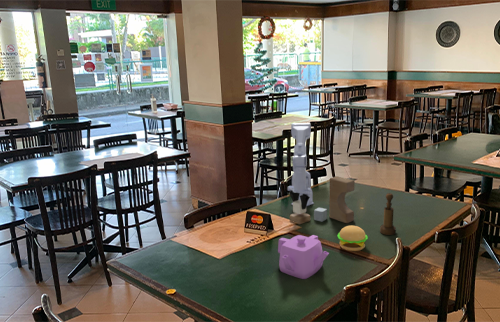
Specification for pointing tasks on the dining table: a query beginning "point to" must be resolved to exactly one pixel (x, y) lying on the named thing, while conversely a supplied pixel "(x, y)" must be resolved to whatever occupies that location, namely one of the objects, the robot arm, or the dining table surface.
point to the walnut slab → (300, 218)
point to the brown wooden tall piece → (388, 218)
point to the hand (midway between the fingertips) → (299, 207)
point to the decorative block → (340, 199)
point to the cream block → (298, 207)
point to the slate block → (320, 214)
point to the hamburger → (352, 238)
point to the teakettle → (301, 256)
